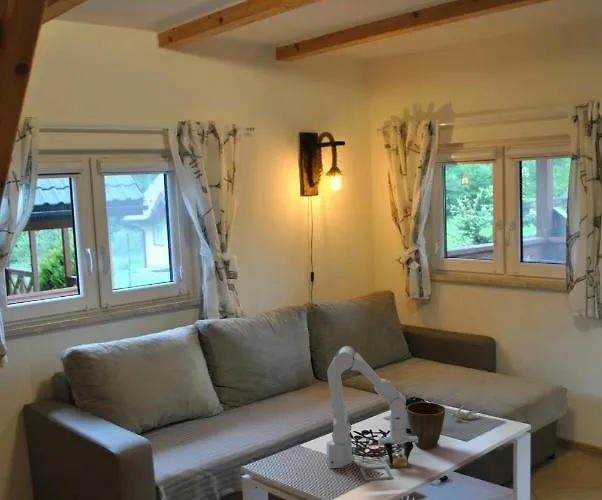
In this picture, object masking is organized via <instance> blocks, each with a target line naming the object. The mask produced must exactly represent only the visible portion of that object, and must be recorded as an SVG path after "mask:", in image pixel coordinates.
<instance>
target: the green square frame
mask: <svg viewBox="0 0 602 500" xmlns="http://www.w3.org/2000/svg"><path fill="white" fill-rule="evenodd" d="M388 467H389V466H388V465H379V466H377V465H376V466H362V467H359V471H360V473H361V474H362V477H363V479H364V481H365V482H371V481H372V482H373V481H384V480H385V481H386V480H394V477H393V475H392V473H391V471H390V470H389V469H390V468H388ZM380 469H382V470H383V469H384V470H385V472H386V473H387V476H380V477H379V476H378V477H377V476H376V477H367V475H366V472H365V471H367V470H370V471H371V470H380Z"/></svg>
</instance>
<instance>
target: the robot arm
mask: <svg viewBox="0 0 602 500" xmlns="http://www.w3.org/2000/svg"><path fill="white" fill-rule="evenodd" d="M348 369H350V371H358V372H360V373H361V374H362V375H363V376H364V377H365V378H366V379H367V380H368V381H369V382H370V383H372V384H373V386H374V391H375V392H376V393H377V394H378V395H379V397H381V398H382V400H383V401H384V402H386V403H387V404H389V405H388V406H389V409H390V414H389V415H390V416H389V419H390V420H389V421H390V422H389V423H390V425H389V426H390V427H389V430H390V431H389V432H390V433H389V434H390V435H389V436H385V437H381V438H378V445H379V446H380V447H381V446H384V447H385V450H386V453H387V456H388V460H389V461H390V463H391V464H393V457H392V454H394V453H393V451H394V447H393V445H394V444H395V445H397V444H398V445H403V449H404V452H403V453H404V455H405V456H406V458H407V462H409V458H410V454H411V452H412V450H413V448H414V444H415V443H418V437H417V436H412V435H407V415H406V414H407V398H406V396H405V394H404V393H402V392H400V391H399V390H397V389H396V388H395V387H394V386H393V385H392V382H391V381H390V380H387V379H386V378H381V377H380V376H379V375H378V373H376V372H375V371H374V370H373V368H372V367H371V366H370V365H369V364H368V363H367V362H366V360H365V359H364V358H363V357H362V356H361V355H360V353H359V352H357V351H355V349H354V348H353V347H351V346H348V345H345V346H343V347H341V348H339V350H338V351H337V352H336V354H335V355H334V357H333V359H332V361H331V363H330V365H329V366H328V368H327V371H326V375H327V380H328V381H327V382H328V388H329V389H328V390H329V396H330V402H331V409H332V415H333V417H332V418H333V422H332V423H333V424H332V427H333V430H332V432H331V436H332V440H329V441H326V462H327V465H328V468H329V469H340V468H345V467H346V466H348V465H350V464H351V463H353V453H352V452H353V445H352V443H353V440H352V437H351V436H350V434H351V431H352V424H351V422H350V421H349V418H348V415H347V412H346V405H345V404H346V403H345V396H344V390H343V381H342V376H341V375H342V373H344V371H346V370H348Z"/></svg>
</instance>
